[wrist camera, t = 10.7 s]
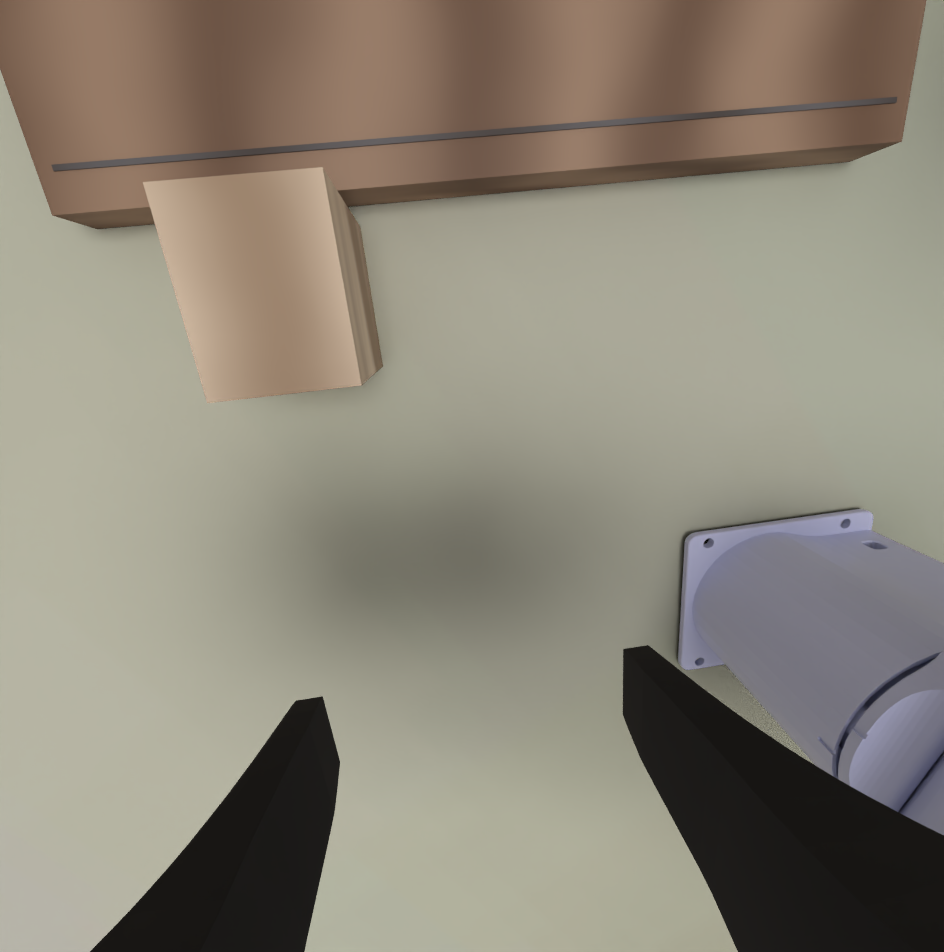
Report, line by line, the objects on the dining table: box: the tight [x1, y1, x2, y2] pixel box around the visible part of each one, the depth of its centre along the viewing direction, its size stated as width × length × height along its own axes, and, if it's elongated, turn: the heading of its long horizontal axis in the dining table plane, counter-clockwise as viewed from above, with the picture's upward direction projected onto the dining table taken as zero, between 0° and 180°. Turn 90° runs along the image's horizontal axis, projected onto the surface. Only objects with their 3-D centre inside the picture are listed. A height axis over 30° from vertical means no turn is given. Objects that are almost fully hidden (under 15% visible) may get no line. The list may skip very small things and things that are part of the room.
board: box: [0, 0, 926, 229], centre depth 14 cm, size 28×7×2 cm, turn 96°
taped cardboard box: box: [143, 167, 383, 403], centre depth 14 cm, size 4×5×6 cm
